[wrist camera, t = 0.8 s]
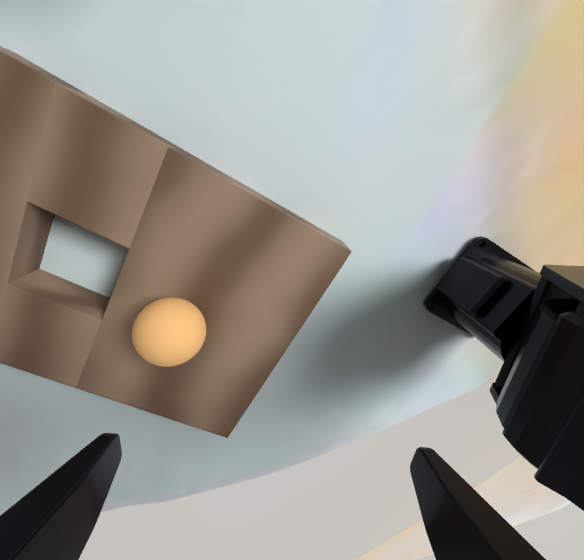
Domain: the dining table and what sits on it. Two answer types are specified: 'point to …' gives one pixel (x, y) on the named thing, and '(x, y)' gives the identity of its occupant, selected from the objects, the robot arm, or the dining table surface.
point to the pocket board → (144, 256)
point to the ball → (169, 332)
